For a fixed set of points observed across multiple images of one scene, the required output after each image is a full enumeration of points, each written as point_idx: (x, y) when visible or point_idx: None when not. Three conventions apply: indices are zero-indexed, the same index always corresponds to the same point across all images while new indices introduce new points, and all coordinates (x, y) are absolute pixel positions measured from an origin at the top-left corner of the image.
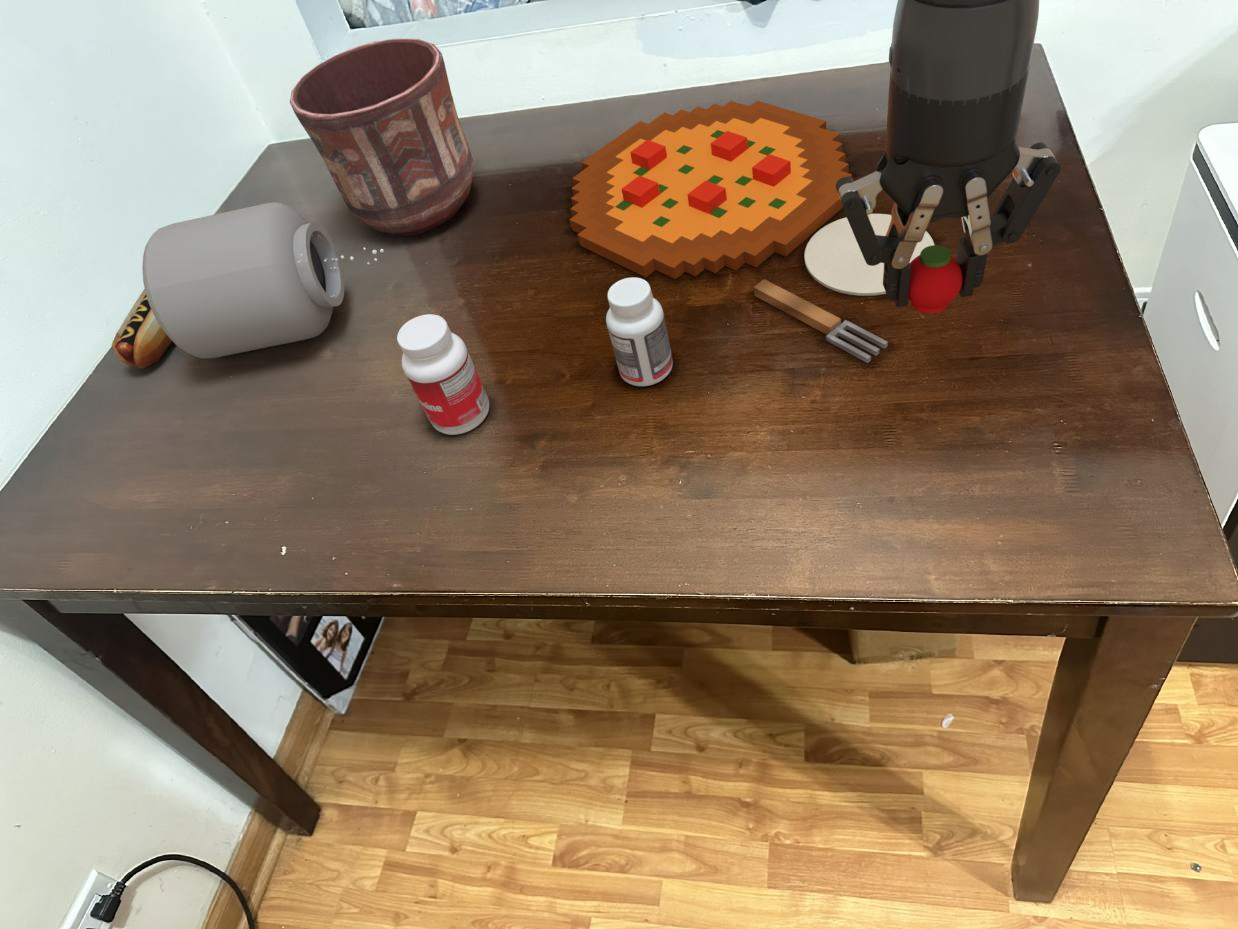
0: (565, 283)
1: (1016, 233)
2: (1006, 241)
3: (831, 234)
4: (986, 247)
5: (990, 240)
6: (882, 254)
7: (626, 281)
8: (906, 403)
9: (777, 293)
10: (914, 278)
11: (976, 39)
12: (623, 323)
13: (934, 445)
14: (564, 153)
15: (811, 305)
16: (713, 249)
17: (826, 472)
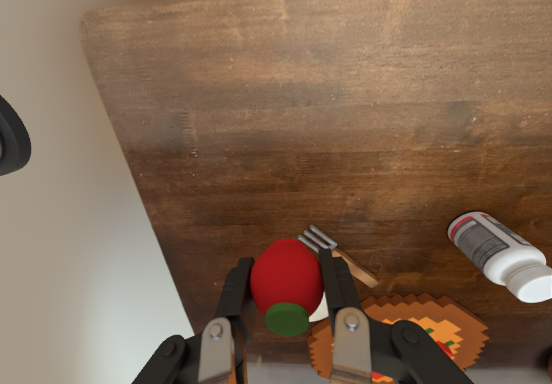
0: (502, 295)
1: (162, 354)
2: (181, 339)
3: (323, 312)
4: (211, 332)
5: (203, 346)
6: (396, 345)
7: (538, 299)
8: (289, 191)
9: (364, 277)
10: (315, 286)
11: None
12: (536, 259)
13: (273, 155)
14: (468, 374)
15: None
16: (400, 310)
17: (353, 130)
